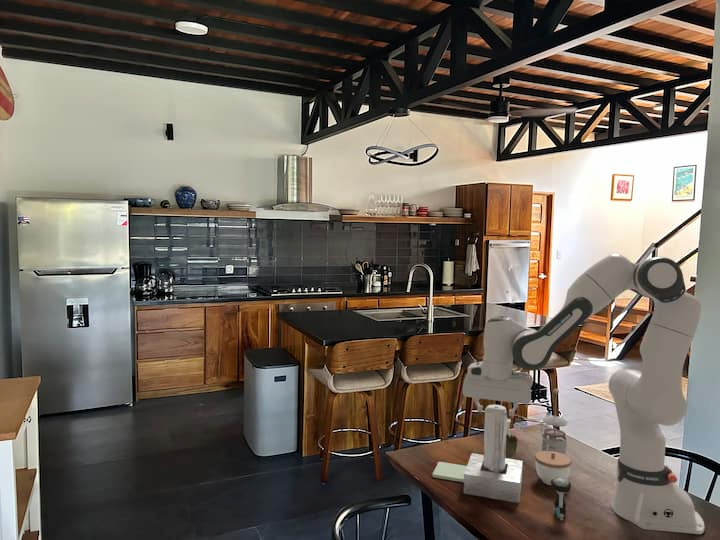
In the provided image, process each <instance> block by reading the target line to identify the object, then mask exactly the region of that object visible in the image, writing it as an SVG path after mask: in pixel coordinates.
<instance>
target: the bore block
mask: <svg viewBox="0 0 720 540" xmlns="http://www.w3.org/2000/svg"><path fill="white" fill-rule="evenodd" d="M483 465H484V454H480V453H479V454H478V453H473V452H472V453H471V454H470V457H469V460H468V462H467V464H466V466H467V467H466V470H465V473H464V482H463V494H465V495H466V494H467V495H470V496H477V497H482V498H483V497H484V498H489V499H494V500H500V501H505V502H511V503H516V504H520V500H521V499H520V498H521V491H522V483H523V482H522V481H523V467H524V466H523V460H520V459H513V458H512V459H507V458H505V474H500V473H494V472H487V471H483Z"/></svg>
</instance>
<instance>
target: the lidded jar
mask: <svg viewBox="0 0 720 540" xmlns="http://www.w3.org/2000/svg"><path fill="white" fill-rule="evenodd" d="M534 460H535V461H534V462H535V463H534V464H535V471H536V474H537V475H538V477H539V478H540V479H541V481H542V482H543V483H544V484H546V485H548V486H551V480H552V479H554V478H555V477H563V478H566V479H567V480H568V478H569V477H570V474H571V467H572V459H571V458H570V457H569V456H568V455H567V454H565V455H564V454H562V453H559V452H554V451H542V450H541V451H538V452H536V453H535V454H534Z"/></svg>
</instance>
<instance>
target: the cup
mask: <svg viewBox="0 0 720 540" xmlns="http://www.w3.org/2000/svg"><path fill="white" fill-rule="evenodd" d="M518 440H519V439H518V437H516V435H513V434H510V437H509V435H508V434H507V435H506V458H507V459H513V458H512V457H513V456H515V454H516V452H517V447H518Z"/></svg>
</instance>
